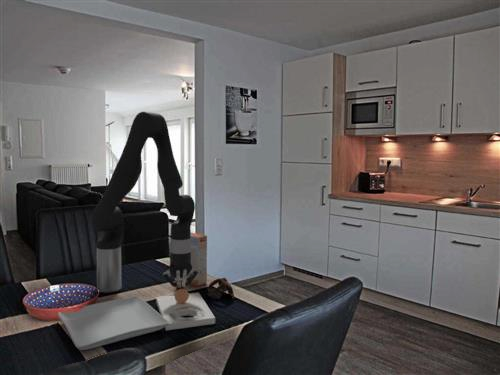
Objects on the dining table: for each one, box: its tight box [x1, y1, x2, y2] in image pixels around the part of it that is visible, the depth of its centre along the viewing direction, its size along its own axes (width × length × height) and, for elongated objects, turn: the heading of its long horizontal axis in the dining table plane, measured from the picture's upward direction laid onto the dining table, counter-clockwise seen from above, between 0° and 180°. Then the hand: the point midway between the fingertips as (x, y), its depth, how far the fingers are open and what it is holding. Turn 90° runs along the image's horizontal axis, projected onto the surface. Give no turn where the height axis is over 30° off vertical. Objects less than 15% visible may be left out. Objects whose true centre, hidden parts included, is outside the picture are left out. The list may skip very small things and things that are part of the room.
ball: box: [174, 289, 190, 303], centre depth 142 cm, size 5×5×5 cm
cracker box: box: [173, 232, 208, 287], centre depth 170 cm, size 14×6×21 cm, turn 54°
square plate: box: [57, 295, 169, 351], centre depth 127 cm, size 27×27×4 cm
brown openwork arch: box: [206, 277, 235, 300], centre depth 155 cm, size 12×10×8 cm
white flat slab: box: [155, 292, 216, 331], centre depth 139 cm, size 16×24×2 cm, turn 20°
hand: (180, 296), depth 146 cm, fingers closed
